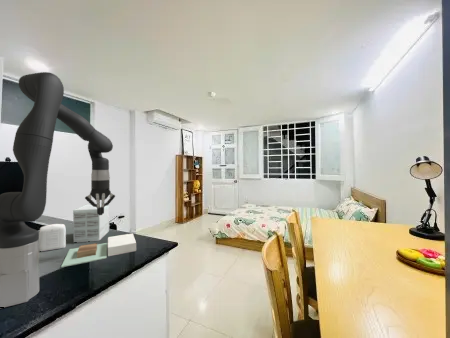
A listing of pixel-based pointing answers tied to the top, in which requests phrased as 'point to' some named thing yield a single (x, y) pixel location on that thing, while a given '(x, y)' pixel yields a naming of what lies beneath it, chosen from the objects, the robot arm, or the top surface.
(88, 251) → the walnut tile
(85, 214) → the supplement box
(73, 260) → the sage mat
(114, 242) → the white flat block
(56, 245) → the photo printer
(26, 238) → the robot arm
